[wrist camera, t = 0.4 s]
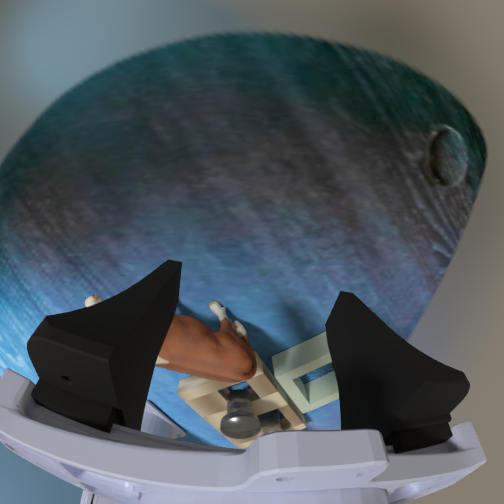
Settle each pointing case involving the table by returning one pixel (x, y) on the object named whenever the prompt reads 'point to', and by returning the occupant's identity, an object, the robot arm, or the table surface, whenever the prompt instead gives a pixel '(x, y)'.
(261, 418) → the silver metal cylinder
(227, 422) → the round dark knob
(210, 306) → the bull figurine
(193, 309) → the table surface
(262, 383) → the socket block
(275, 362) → the grey-green hollow square block
